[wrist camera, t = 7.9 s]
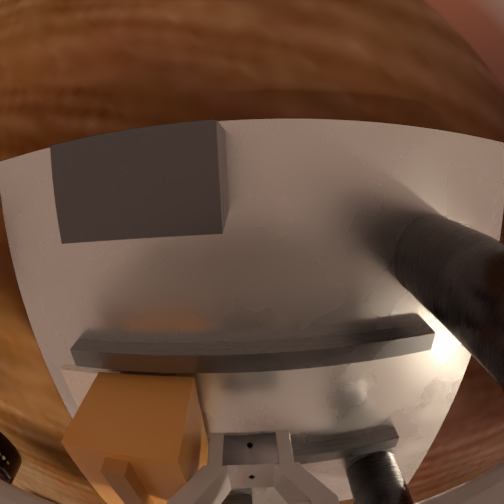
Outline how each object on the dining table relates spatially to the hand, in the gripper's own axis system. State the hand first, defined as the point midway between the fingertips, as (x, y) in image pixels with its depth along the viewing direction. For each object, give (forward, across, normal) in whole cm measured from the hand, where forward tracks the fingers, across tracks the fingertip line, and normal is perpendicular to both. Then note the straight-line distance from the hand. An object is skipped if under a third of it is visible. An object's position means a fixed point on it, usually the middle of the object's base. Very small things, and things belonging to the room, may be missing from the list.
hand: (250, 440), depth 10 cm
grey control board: (+5, -1, 0) cm, 5 cm away
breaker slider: (+1, +4, 0) cm, 4 cm away
